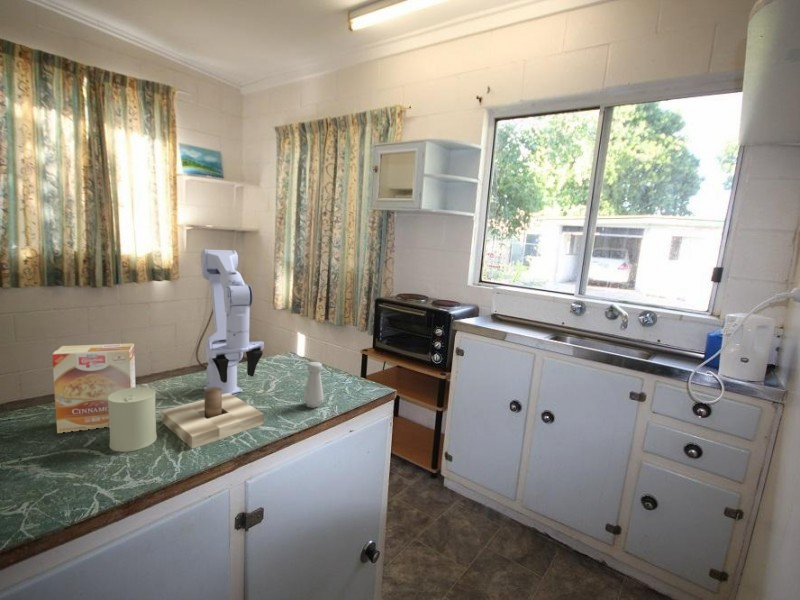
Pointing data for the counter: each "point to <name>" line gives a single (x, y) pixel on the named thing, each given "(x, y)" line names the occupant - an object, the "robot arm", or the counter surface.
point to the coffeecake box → (89, 383)
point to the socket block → (211, 420)
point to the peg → (213, 402)
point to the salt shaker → (314, 386)
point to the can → (132, 418)
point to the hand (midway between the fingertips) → (237, 378)
